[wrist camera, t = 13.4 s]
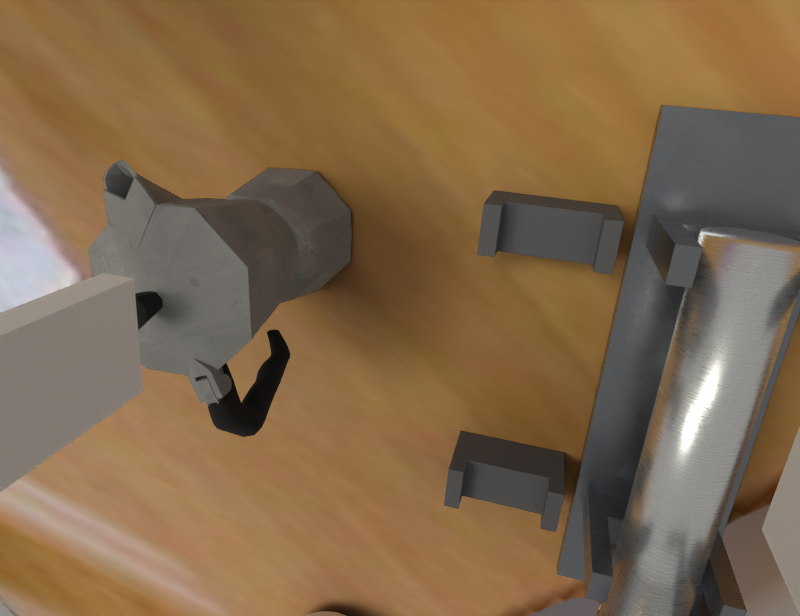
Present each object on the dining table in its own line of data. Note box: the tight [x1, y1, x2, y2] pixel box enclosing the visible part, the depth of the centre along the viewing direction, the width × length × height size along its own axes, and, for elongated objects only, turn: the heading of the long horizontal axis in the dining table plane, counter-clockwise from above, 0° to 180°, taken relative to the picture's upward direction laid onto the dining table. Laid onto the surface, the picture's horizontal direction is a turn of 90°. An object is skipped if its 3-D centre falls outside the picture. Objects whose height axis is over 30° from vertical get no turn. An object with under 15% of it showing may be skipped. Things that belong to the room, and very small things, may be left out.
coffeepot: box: [88, 160, 352, 437], centre depth 35 cm, size 15×9×18 cm, turn 20°
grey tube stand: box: [557, 105, 800, 616], centre depth 33 cm, size 35×10×15 cm, turn 175°
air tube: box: [597, 227, 800, 616], centre depth 35 cm, size 28×5×5 cm, turn 175°
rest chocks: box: [444, 191, 624, 532], centre depth 39 cm, size 21×8×5 cm, turn 175°
